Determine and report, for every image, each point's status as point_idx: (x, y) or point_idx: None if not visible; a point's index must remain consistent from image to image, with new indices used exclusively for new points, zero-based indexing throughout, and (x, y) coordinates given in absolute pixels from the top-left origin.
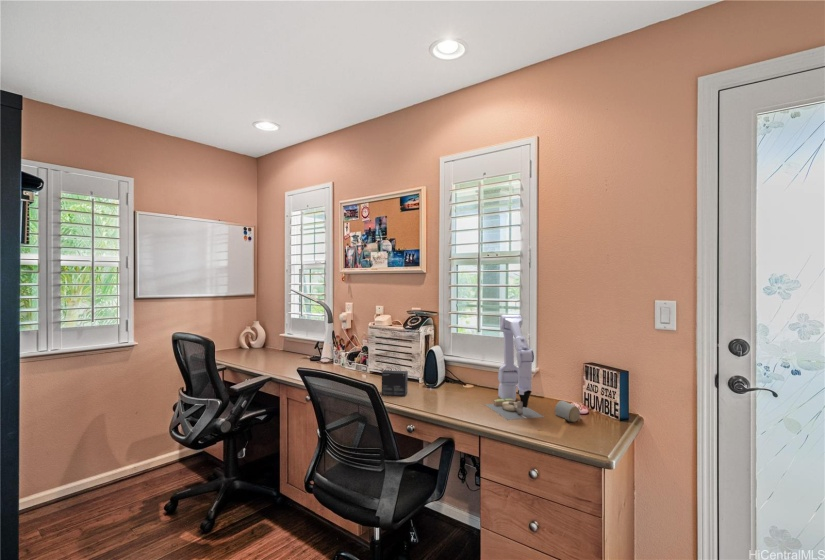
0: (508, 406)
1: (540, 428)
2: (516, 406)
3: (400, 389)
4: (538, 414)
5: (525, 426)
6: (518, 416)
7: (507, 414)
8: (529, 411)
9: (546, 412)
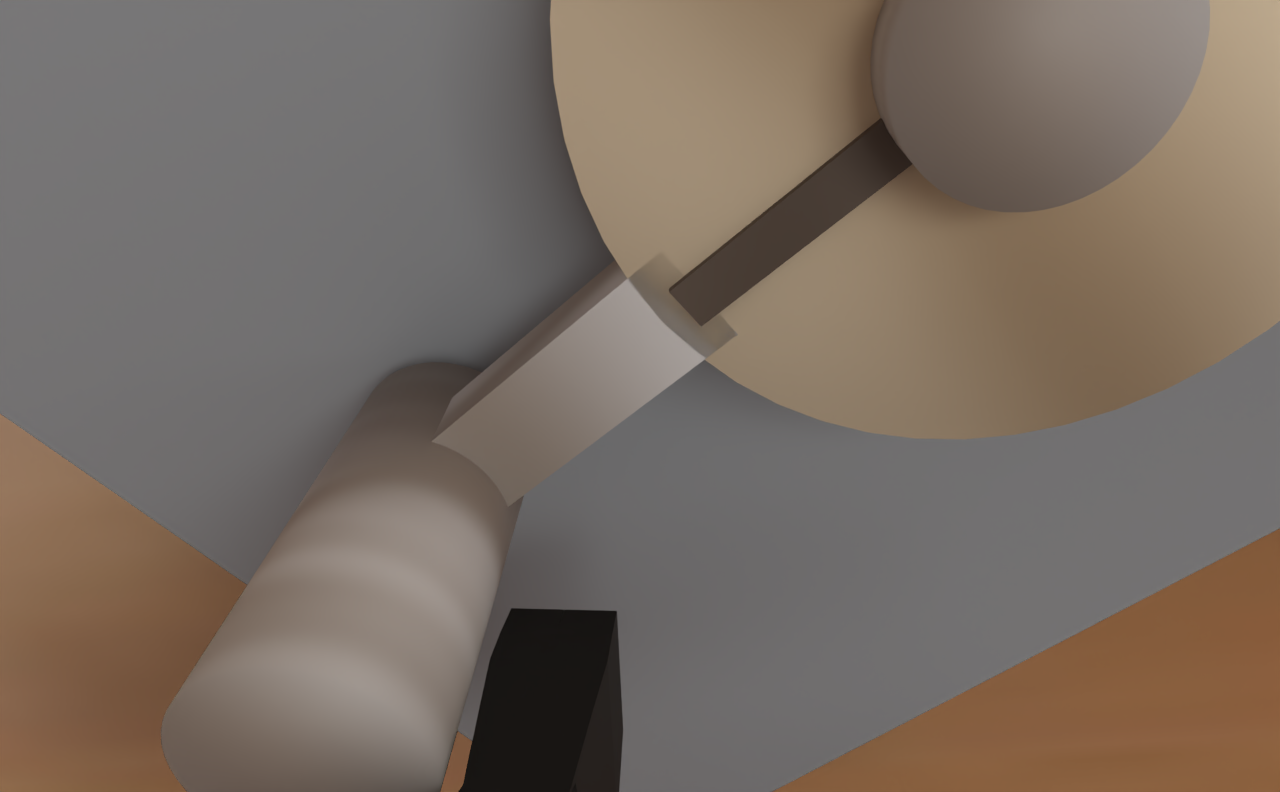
0: (550, 15)
1: (140, 776)
2: (707, 355)
3: None
4: (735, 768)
5: (10, 569)
6: (262, 420)
7: (191, 61)
8: (892, 589)
9: (1213, 782)
